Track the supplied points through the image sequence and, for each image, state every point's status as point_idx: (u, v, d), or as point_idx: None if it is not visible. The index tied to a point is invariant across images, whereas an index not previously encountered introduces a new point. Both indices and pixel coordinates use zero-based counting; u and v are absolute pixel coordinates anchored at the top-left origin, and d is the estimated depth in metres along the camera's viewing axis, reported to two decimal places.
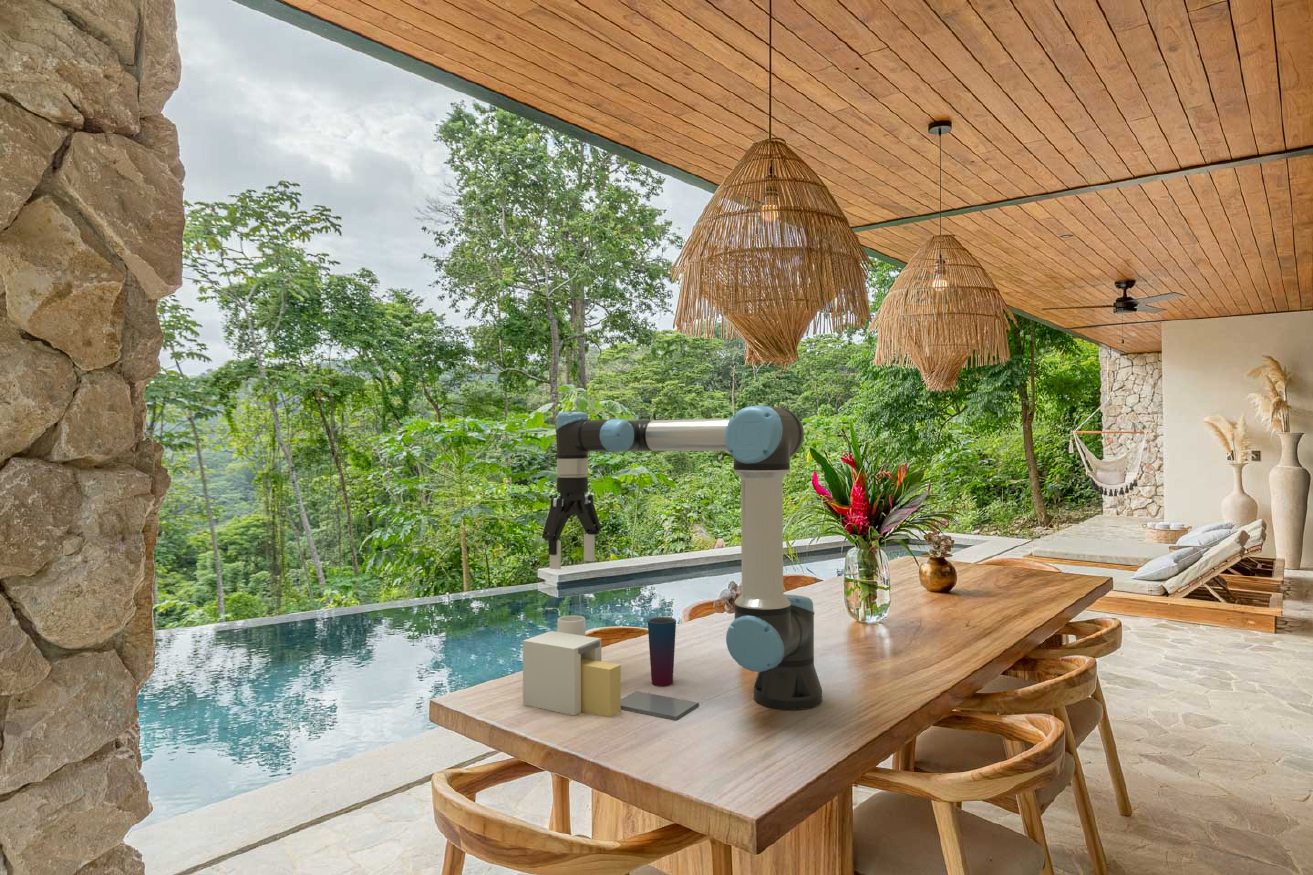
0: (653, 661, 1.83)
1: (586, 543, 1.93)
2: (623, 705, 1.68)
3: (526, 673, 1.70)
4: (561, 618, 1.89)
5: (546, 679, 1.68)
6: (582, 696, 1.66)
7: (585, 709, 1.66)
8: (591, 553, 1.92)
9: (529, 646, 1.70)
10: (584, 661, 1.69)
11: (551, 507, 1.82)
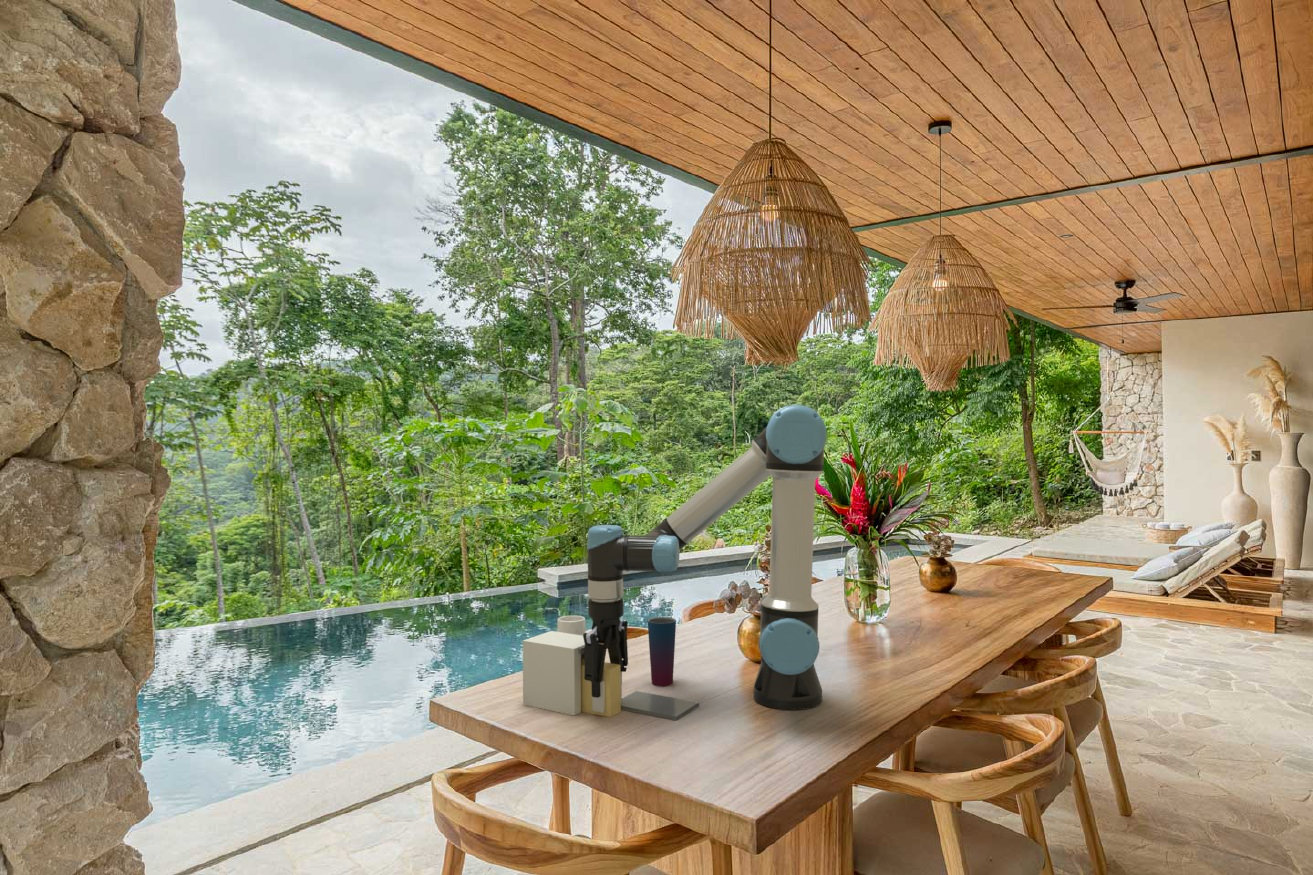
0: (653, 661, 1.83)
1: None
2: (623, 705, 1.68)
3: (526, 673, 1.70)
4: (561, 618, 1.89)
5: (546, 679, 1.68)
6: (582, 696, 1.66)
7: (585, 709, 1.66)
8: None
9: (529, 646, 1.70)
10: (584, 661, 1.69)
11: (585, 644, 1.61)
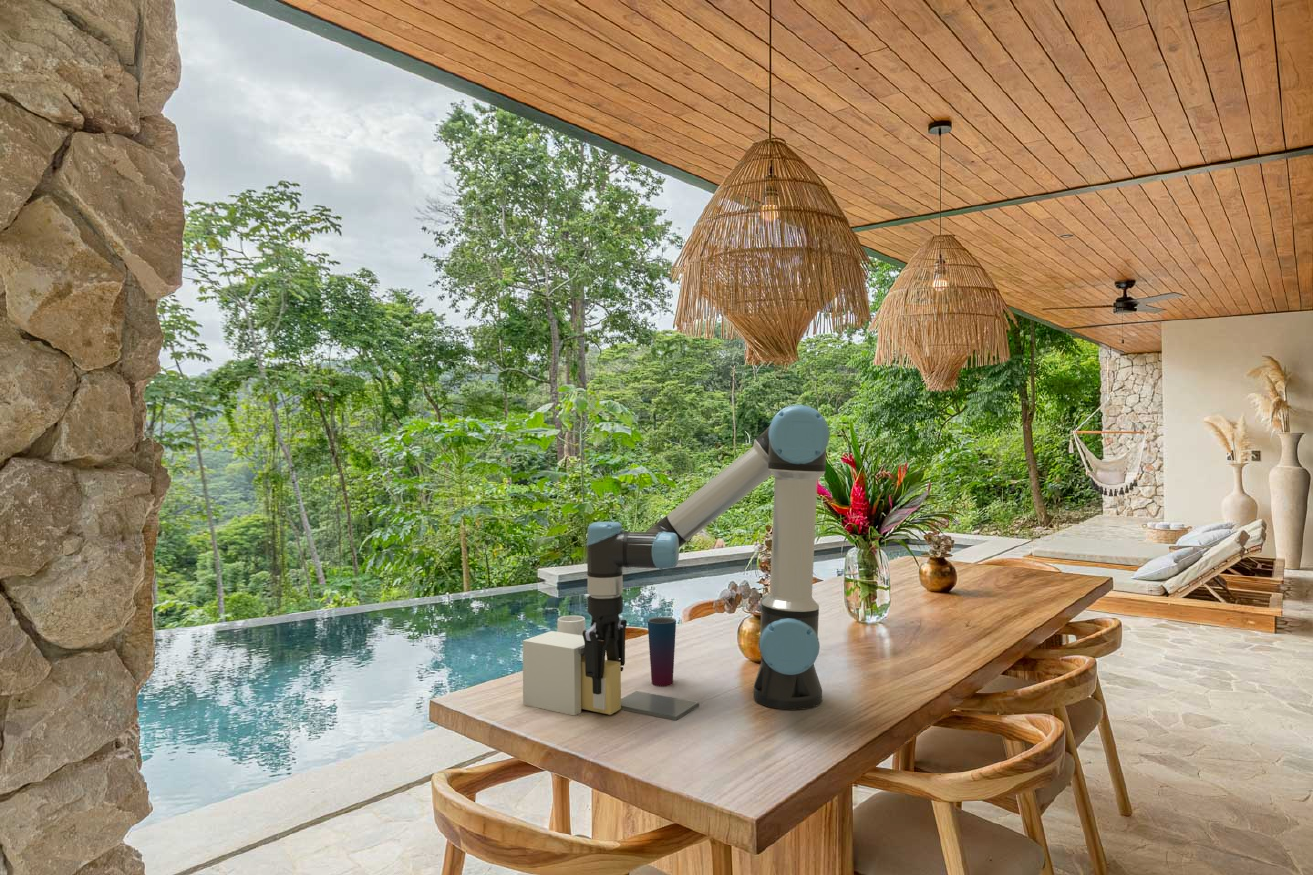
0: (653, 661, 1.83)
1: None
2: (623, 705, 1.68)
3: (526, 673, 1.70)
4: (561, 618, 1.89)
5: (546, 679, 1.68)
6: (582, 693, 1.66)
7: (585, 706, 1.66)
8: None
9: (529, 646, 1.70)
10: (584, 658, 1.69)
11: (585, 641, 1.61)
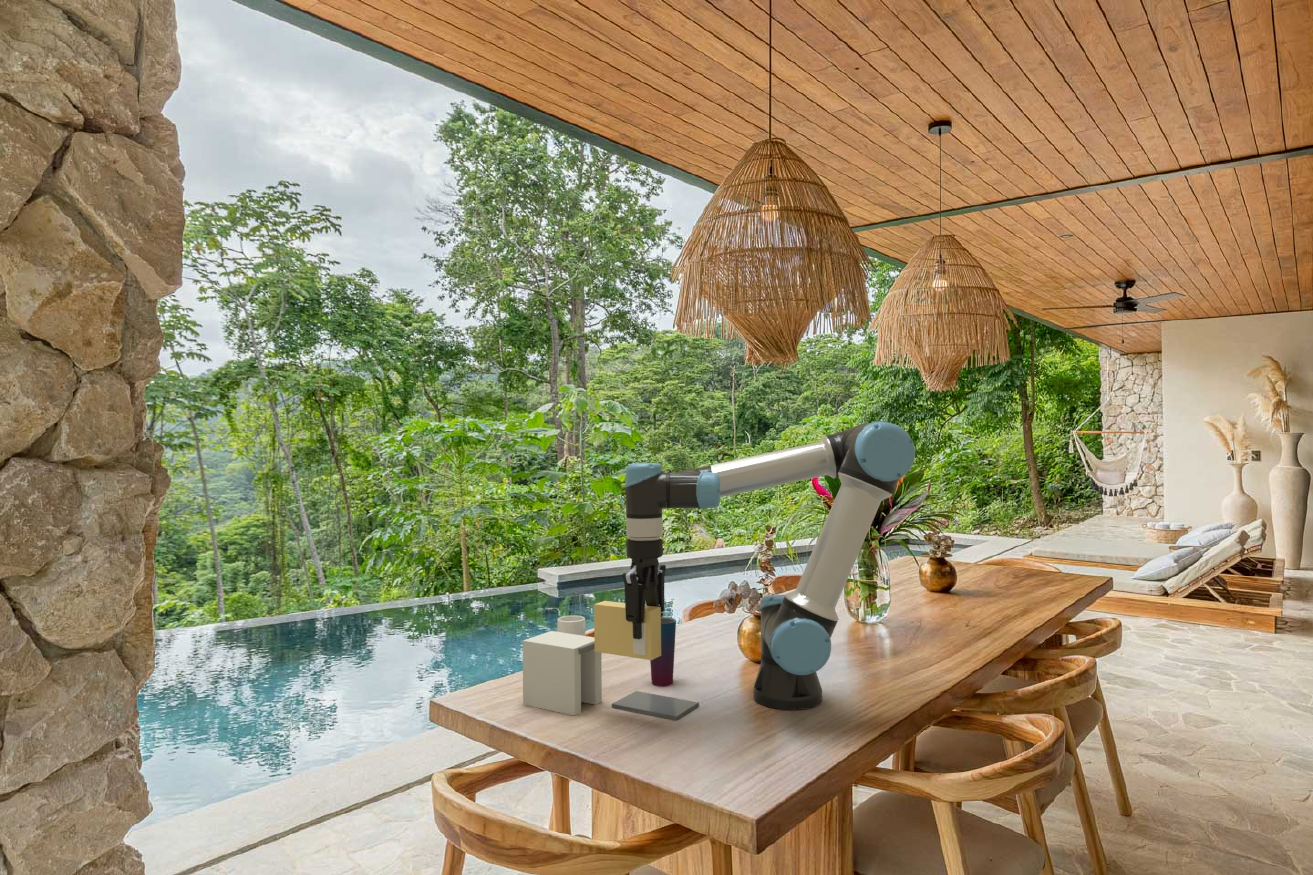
0: (653, 661, 1.83)
1: None
2: (623, 705, 1.68)
3: (526, 673, 1.70)
4: (561, 618, 1.89)
5: (546, 679, 1.68)
6: (621, 640, 1.61)
7: (624, 653, 1.61)
8: None
9: (529, 646, 1.70)
10: (622, 604, 1.64)
11: (625, 584, 1.56)
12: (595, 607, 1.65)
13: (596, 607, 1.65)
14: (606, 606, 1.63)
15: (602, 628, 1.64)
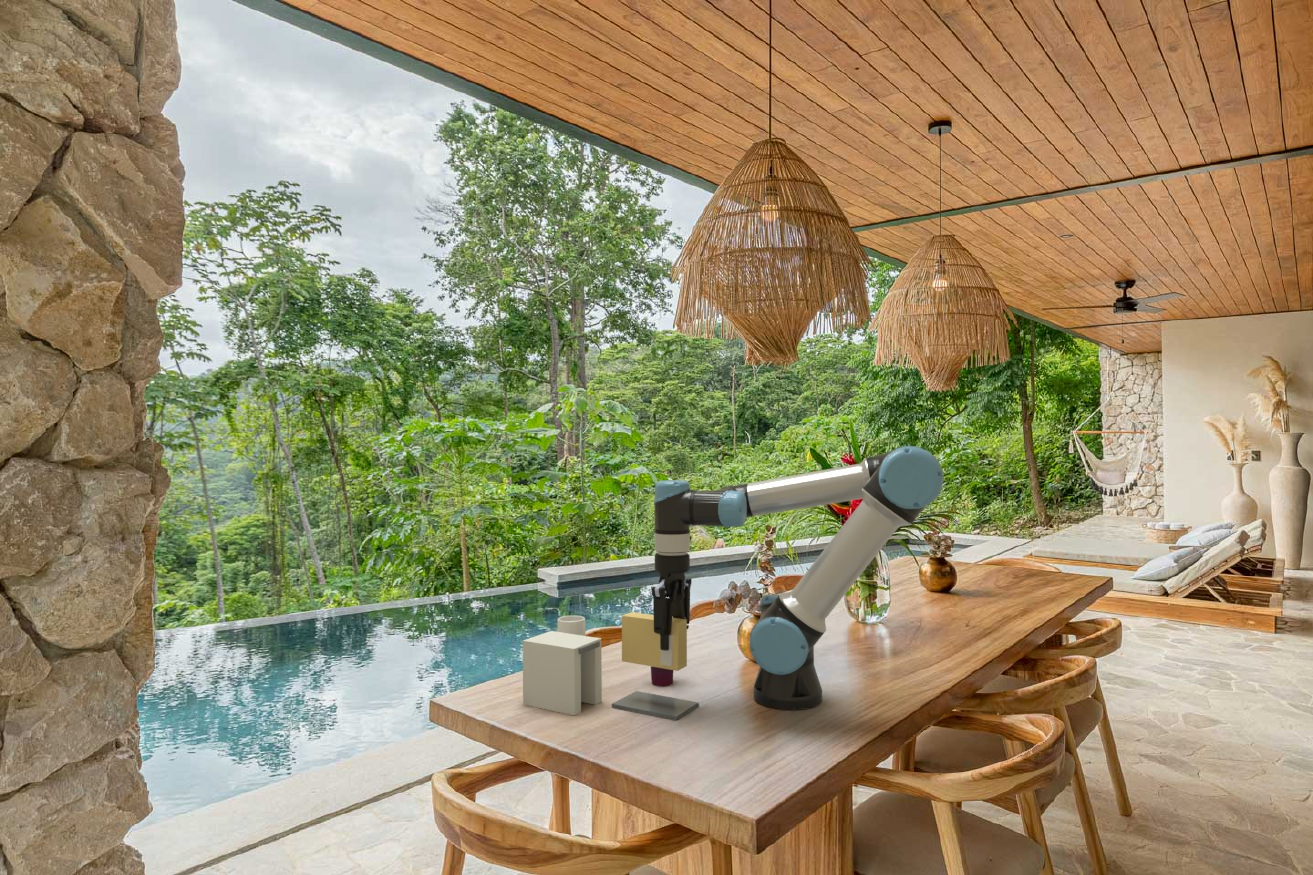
0: None
1: None
2: (623, 705, 1.68)
3: (526, 673, 1.70)
4: (561, 618, 1.89)
5: (546, 679, 1.68)
6: (648, 650, 1.67)
7: (651, 663, 1.67)
8: None
9: (529, 646, 1.70)
10: (649, 616, 1.70)
11: (654, 597, 1.62)
12: (623, 618, 1.71)
13: (624, 618, 1.70)
14: (634, 618, 1.69)
15: (629, 639, 1.70)
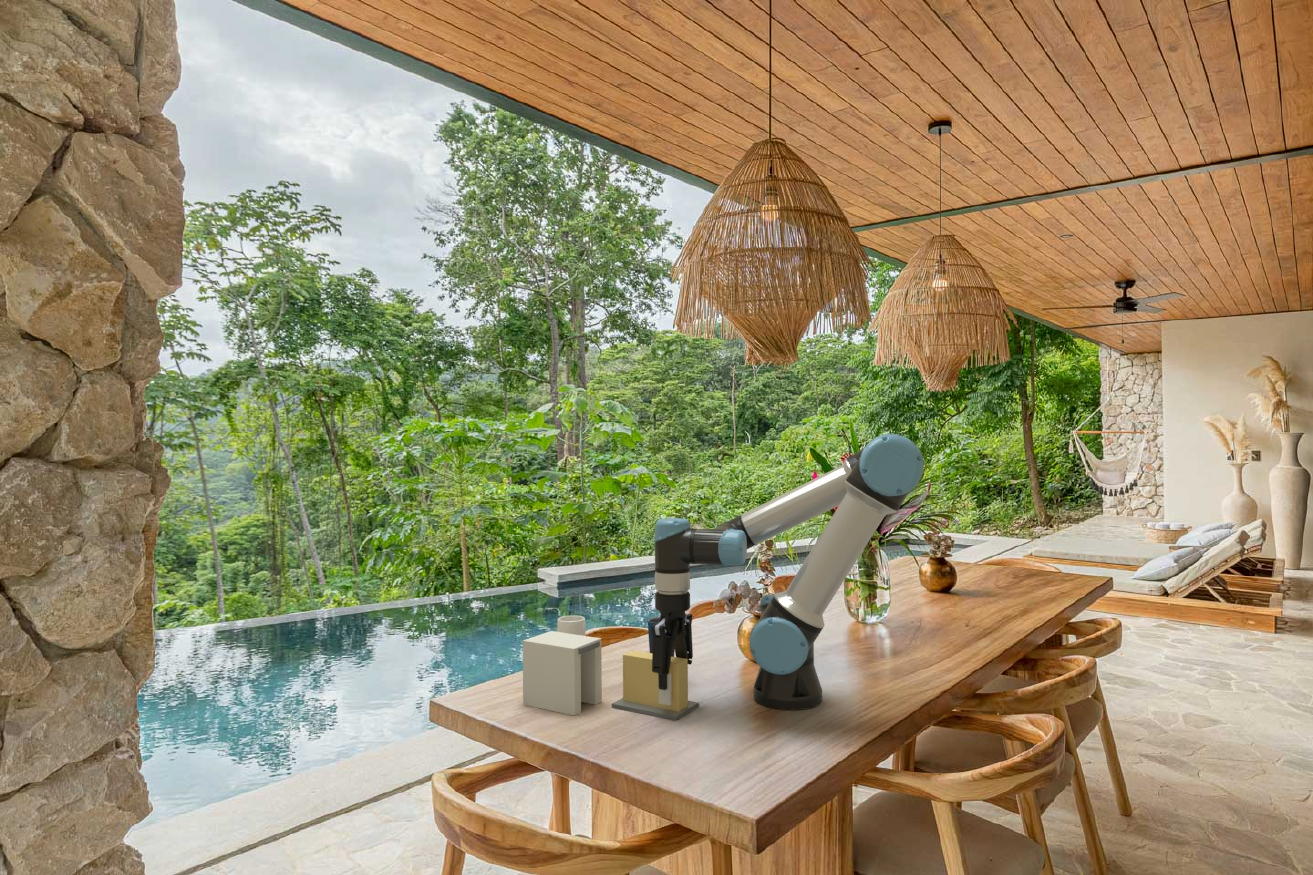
0: None
1: None
2: (623, 705, 1.68)
3: (526, 673, 1.70)
4: (561, 618, 1.89)
5: (546, 679, 1.68)
6: (649, 690, 1.67)
7: (653, 703, 1.67)
8: None
9: (529, 646, 1.70)
10: (650, 655, 1.70)
11: (653, 636, 1.62)
12: (624, 657, 1.71)
13: (625, 657, 1.70)
14: (635, 657, 1.69)
15: (630, 678, 1.70)
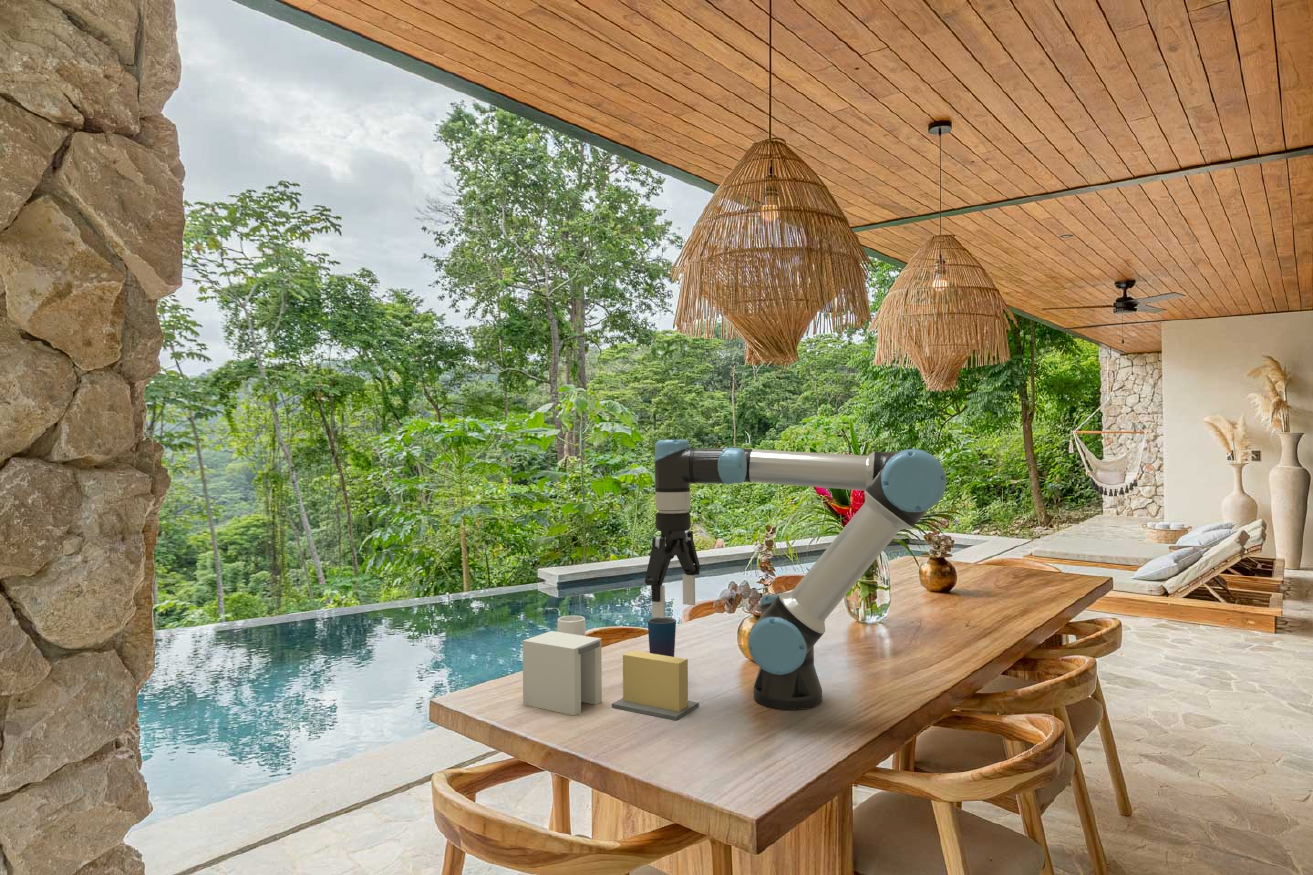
0: None
1: (686, 584, 1.73)
2: (623, 705, 1.68)
3: (526, 673, 1.70)
4: (561, 618, 1.89)
5: (546, 679, 1.68)
6: (649, 690, 1.67)
7: (653, 703, 1.67)
8: (691, 596, 1.72)
9: (529, 646, 1.70)
10: (650, 655, 1.70)
11: (653, 547, 1.61)
12: (624, 657, 1.71)
13: (625, 657, 1.70)
14: (635, 657, 1.69)
15: (630, 678, 1.70)
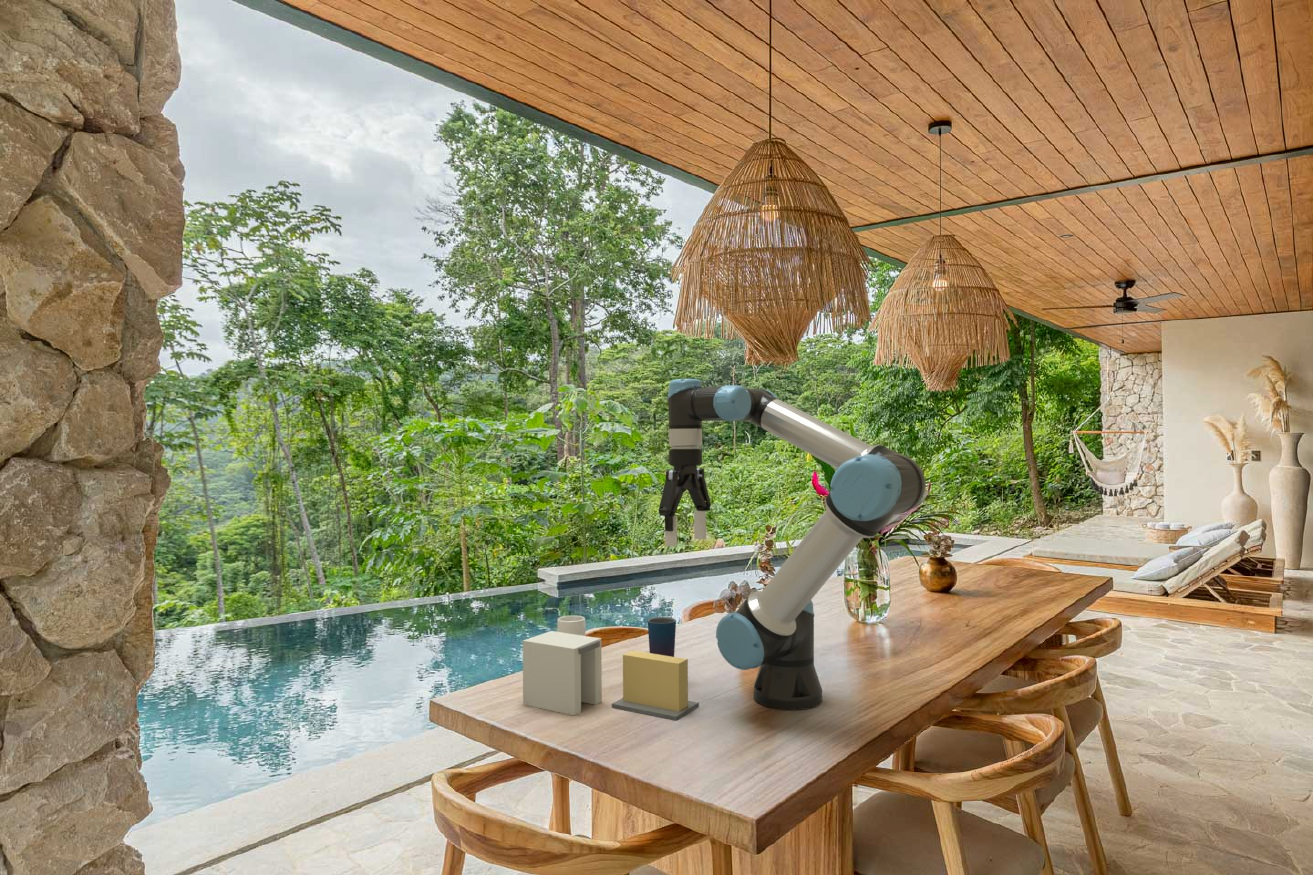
0: None
1: (697, 520, 1.81)
2: (623, 705, 1.68)
3: (526, 673, 1.70)
4: (561, 618, 1.89)
5: (546, 679, 1.68)
6: (649, 690, 1.67)
7: (653, 703, 1.67)
8: (702, 531, 1.80)
9: (529, 646, 1.70)
10: (650, 655, 1.70)
11: (666, 480, 1.70)
12: (624, 657, 1.71)
13: (625, 657, 1.70)
14: (635, 657, 1.69)
15: (630, 678, 1.70)
